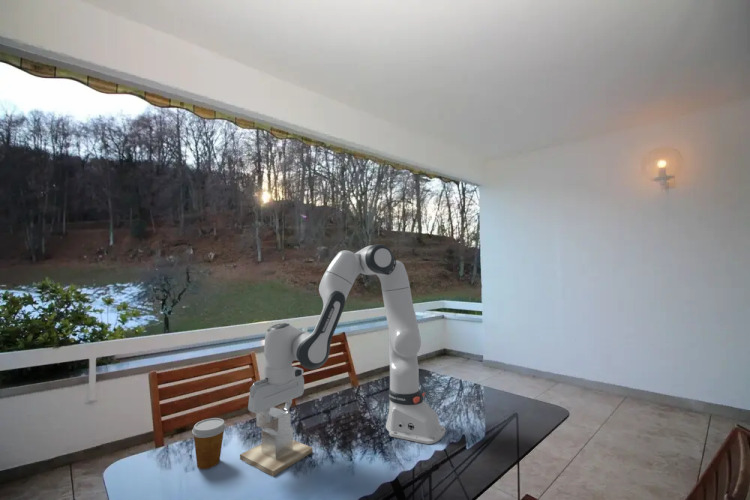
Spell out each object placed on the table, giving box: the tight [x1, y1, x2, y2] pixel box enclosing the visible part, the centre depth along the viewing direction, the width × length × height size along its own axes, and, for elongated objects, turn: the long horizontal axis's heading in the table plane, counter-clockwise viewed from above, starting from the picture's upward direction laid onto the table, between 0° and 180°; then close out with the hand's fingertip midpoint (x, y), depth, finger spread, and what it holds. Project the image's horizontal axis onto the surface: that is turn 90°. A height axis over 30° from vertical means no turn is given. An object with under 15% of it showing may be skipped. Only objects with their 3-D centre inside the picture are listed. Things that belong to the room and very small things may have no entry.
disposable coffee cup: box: [191, 417, 227, 470], centre depth 108 cm, size 10×10×12 cm
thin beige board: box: [239, 439, 313, 477], centre depth 112 cm, size 16×16×6 cm
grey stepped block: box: [255, 406, 294, 459], centre depth 114 cm, size 11×7×12 cm, turn 55°
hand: (277, 417), depth 113 cm, fingers open, 5 cm apart
